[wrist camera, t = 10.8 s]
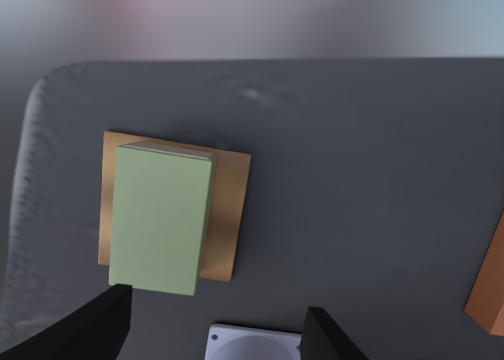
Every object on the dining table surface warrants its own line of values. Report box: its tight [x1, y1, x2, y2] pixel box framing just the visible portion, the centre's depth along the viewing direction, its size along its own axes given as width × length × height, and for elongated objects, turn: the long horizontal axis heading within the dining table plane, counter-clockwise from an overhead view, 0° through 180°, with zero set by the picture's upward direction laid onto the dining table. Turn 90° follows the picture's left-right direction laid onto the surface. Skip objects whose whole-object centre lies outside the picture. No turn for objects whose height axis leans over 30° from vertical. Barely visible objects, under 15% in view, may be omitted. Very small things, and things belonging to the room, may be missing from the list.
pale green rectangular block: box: [109, 141, 217, 296], centre depth 18 cm, size 9×6×3 cm, turn 170°
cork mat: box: [98, 130, 252, 282], centre depth 19 cm, size 10×10×1 cm
